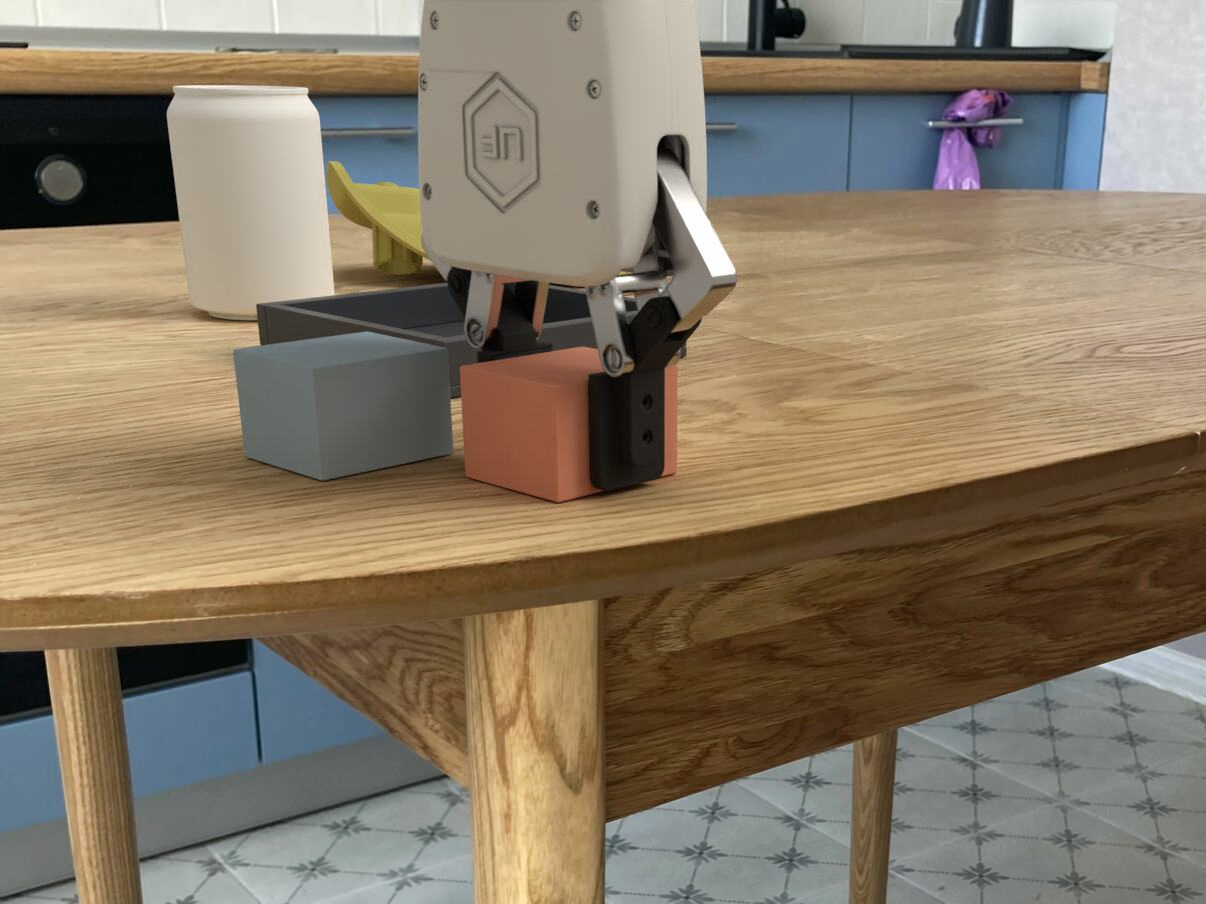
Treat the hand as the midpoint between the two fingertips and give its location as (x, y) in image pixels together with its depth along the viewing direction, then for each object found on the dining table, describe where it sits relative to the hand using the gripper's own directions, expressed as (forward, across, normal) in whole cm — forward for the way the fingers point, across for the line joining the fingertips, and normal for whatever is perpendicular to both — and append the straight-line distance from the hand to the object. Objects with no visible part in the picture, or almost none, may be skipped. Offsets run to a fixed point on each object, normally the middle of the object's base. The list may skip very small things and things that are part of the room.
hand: (572, 463), depth 56 cm
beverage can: (+1, -40, +13) cm, 42 cm away
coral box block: (0, 0, 0) cm, 0 cm away
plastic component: (+1, -44, +33) cm, 55 cm away
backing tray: (0, -21, +13) cm, 25 cm away
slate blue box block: (0, -8, -4) cm, 9 cm away
